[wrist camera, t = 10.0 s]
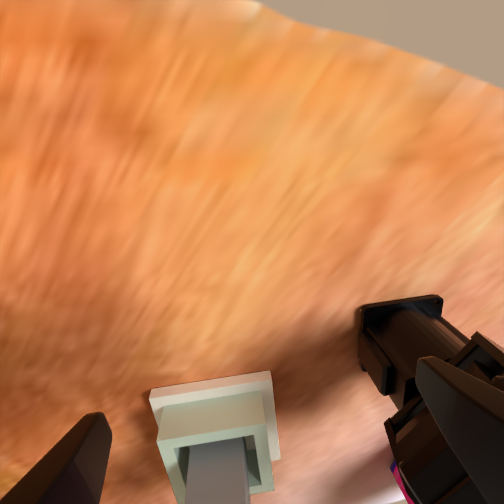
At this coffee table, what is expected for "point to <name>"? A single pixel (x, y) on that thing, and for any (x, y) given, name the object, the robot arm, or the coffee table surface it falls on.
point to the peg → (218, 473)
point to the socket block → (218, 424)
